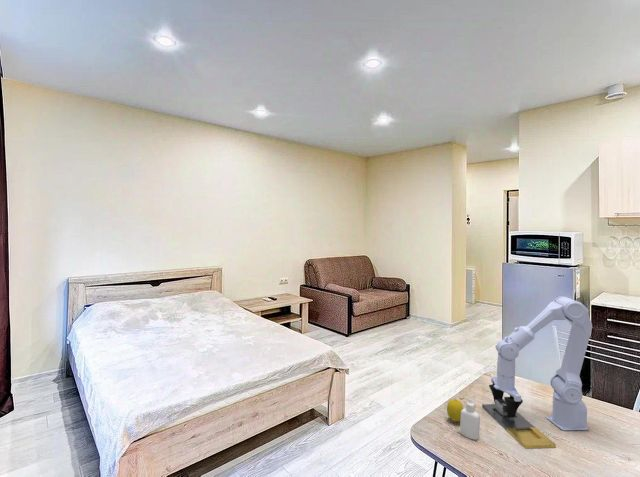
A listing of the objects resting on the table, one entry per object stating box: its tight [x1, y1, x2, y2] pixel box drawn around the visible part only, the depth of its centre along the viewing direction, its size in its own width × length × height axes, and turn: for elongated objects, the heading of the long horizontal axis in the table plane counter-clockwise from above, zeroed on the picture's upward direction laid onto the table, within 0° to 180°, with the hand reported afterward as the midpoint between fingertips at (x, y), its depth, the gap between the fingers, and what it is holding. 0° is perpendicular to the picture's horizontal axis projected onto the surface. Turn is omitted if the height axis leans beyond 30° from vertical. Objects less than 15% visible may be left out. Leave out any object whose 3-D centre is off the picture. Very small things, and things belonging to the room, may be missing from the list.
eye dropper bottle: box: [459, 398, 481, 441], centre depth 109 cm, size 4×6×12 cm
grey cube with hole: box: [494, 398, 509, 418], centre depth 121 cm, size 4×4×5 cm
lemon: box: [446, 398, 465, 423], centre depth 117 cm, size 6×6×8 cm
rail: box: [481, 403, 557, 449], centre depth 115 cm, size 10×24×1 cm, turn 4°
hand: (504, 410), depth 121 cm, fingers open, 7 cm apart
